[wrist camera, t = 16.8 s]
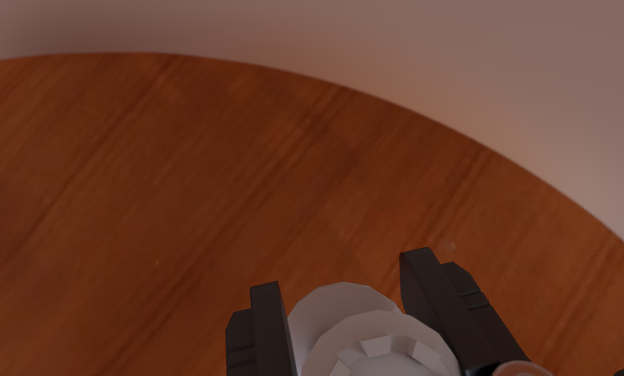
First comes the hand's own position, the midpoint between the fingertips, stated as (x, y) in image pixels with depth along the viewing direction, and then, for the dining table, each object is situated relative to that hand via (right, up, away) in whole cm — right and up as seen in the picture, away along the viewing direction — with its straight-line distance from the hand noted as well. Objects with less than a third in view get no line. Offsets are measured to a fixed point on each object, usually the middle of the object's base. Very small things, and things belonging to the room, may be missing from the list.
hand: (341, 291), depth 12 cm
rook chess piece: (0, -3, +4) cm, 5 cm away
